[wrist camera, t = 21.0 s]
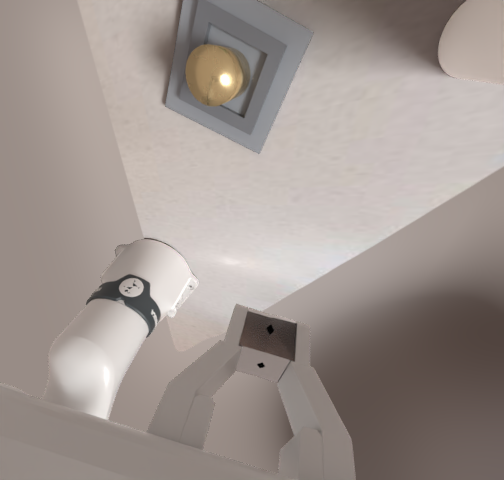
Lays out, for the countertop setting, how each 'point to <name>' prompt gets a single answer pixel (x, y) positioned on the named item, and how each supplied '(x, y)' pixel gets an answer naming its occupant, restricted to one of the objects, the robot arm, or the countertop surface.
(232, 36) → the grey square tray
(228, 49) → the cylinder
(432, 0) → the countertop surface
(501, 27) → the cylindrical container
